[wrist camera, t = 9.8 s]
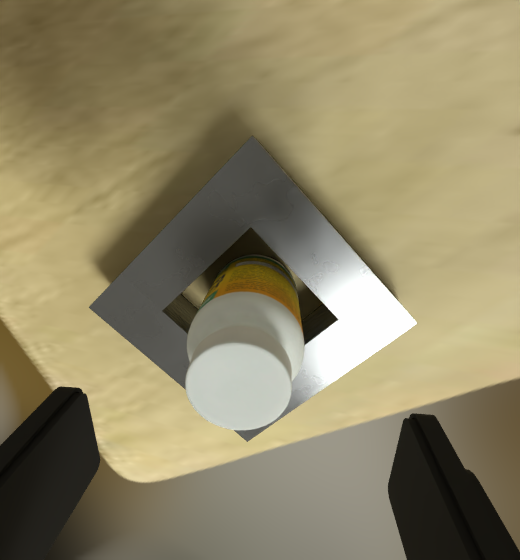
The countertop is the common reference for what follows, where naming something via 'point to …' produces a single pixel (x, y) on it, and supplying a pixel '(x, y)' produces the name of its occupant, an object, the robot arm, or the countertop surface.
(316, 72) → the countertop surface
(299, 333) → the supplement bottle
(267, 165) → the square hole block
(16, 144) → the countertop surface
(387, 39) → the countertop surface
